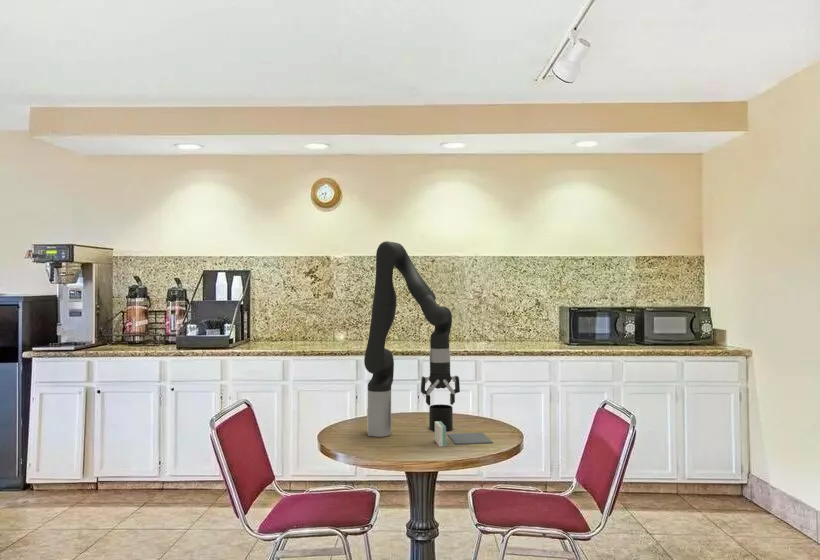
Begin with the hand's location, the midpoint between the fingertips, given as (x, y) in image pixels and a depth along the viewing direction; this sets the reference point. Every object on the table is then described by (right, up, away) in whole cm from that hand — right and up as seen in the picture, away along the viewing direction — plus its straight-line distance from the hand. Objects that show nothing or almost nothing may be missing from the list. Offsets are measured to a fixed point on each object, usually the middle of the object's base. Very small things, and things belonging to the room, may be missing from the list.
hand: (440, 404), depth 203 cm
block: (0, -14, 0) cm, 14 cm away
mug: (+1, -15, +22) cm, 27 cm away
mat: (+11, -14, +5) cm, 19 cm away
